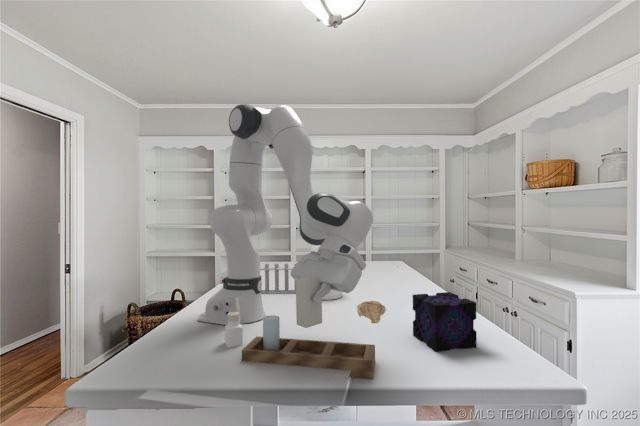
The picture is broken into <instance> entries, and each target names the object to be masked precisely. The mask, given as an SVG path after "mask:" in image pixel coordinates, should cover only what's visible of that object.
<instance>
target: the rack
mask: <svg viewBox="0 0 640 426" xmlns="http://www.w3.org/2000/svg"><path fill="white" fill-rule="evenodd" d="M241 362H251V363H260V364H262V363H264V364H270V365H271V364H273V365H282V366H283V365H285V366H296V367H297V366H298V367H307V368H319V369H330V370H340V371H350V372H349V374H348V375H349V376H348V378H355V379H357V378H358V379H367V380H373V379H374V372H375V365H376V344H370V343H369V344H368V343H354V342H340V341H339V342H338V341H327V340H326V341H325V340H311V339H299V338H283V337H280V352H276V351H264V350H263V336H255V338H253V339H251V341H250V342H249V343H248V344H247V345H245V346H244V348H242V349H241Z"/></svg>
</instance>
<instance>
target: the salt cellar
mask: <svg viewBox="0 0 640 426" xmlns="http://www.w3.org/2000/svg"><path fill="white" fill-rule="evenodd" d="M280 323H281V321H280V316H278V315H274V314H273V315H272V314H271V315H265V317H264V318H263V319H262V337H263V350H264V351H276V352H280V338H281V337H280V335H281V332H280V328H281V327H280V326H281V325H280Z"/></svg>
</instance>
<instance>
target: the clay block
mask: <svg viewBox="0 0 640 426" xmlns="http://www.w3.org/2000/svg"><path fill="white" fill-rule="evenodd" d="M319 278H320V277H314V276H305V277H300V278H296V294H295V307H296V309H295V310H296V311H295V312H296V317H295V318H296V326H299V327H302V328H305V329H307V328H312V327H315V326H317V325H321V324H323V300H322V299H321V300H320V302H319V303H315V302H313V301H312V300H311V296H312V295H313V293H316V292H317V291H319V290H320V289H321V282H319Z"/></svg>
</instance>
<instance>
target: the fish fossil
mask: <svg viewBox="0 0 640 426" xmlns="http://www.w3.org/2000/svg"><path fill="white" fill-rule="evenodd" d="M356 311H357V315H358V316H359V317H360V318H361V316H362V317H364V316H365V317H364V318H366V317H367V318H366V319H369V320H370V323H371V324H378V323H379V322H380V321H381V316H384V314H385V311H386V306H384V305H383V304H382V303H381V302H379V301H378V300H377V301H376V300H369V301H362V302H361V303H359V304H358V305H356Z"/></svg>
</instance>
